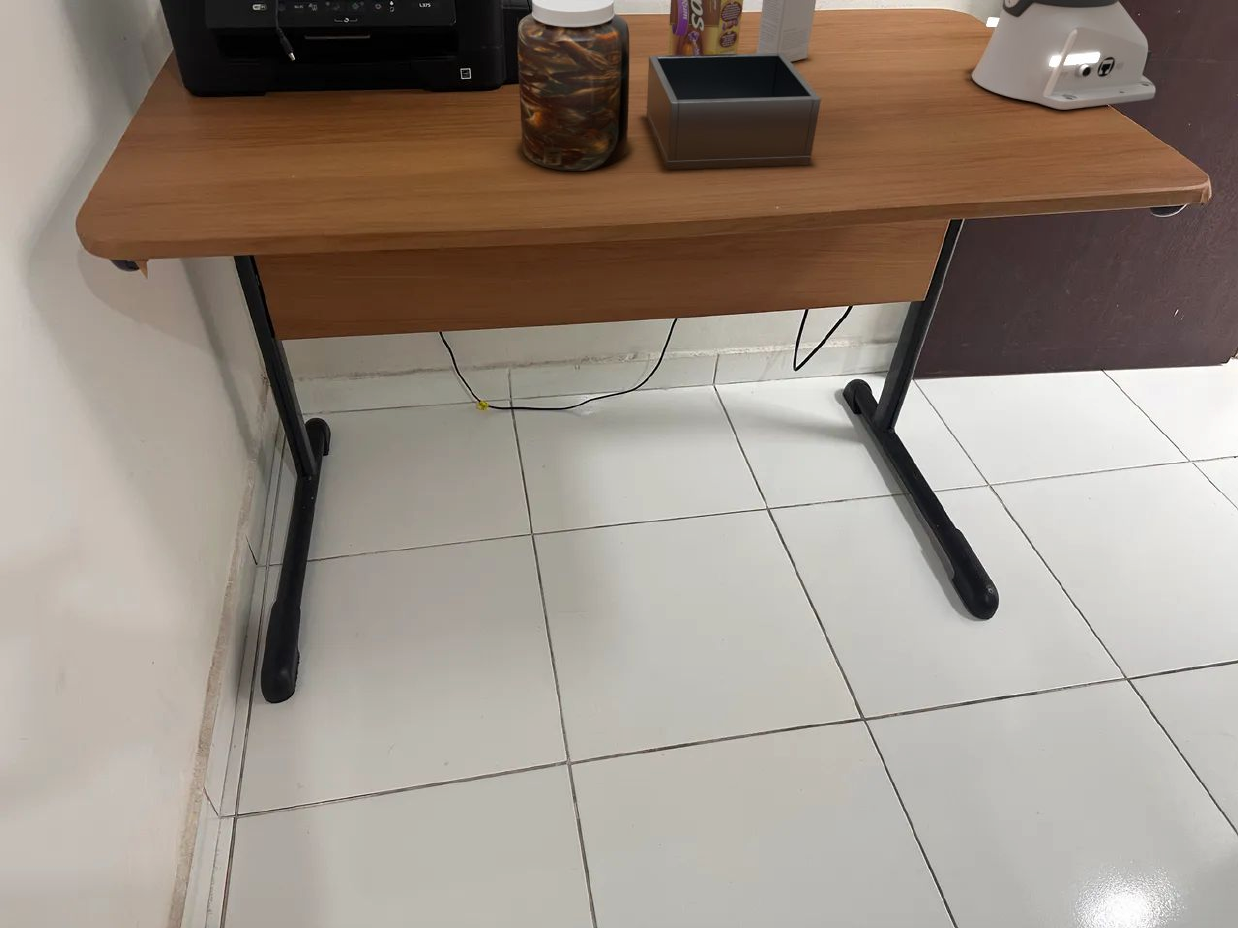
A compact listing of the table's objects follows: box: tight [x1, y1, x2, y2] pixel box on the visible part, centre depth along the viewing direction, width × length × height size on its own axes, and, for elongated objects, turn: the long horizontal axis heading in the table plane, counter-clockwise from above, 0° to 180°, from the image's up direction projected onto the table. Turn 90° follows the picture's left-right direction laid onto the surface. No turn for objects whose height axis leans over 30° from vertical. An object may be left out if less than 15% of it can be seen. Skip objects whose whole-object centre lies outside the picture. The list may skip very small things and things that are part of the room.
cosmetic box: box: [756, 0, 817, 63], centre depth 115 cm, size 6×4×12 cm
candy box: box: [667, 0, 744, 55], centre depth 107 cm, size 9×4×15 cm, turn 39°
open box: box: [646, 52, 822, 171], centre depth 95 cm, size 16×15×7 cm
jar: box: [517, 0, 630, 172], centre depth 90 cm, size 12×12×15 cm
